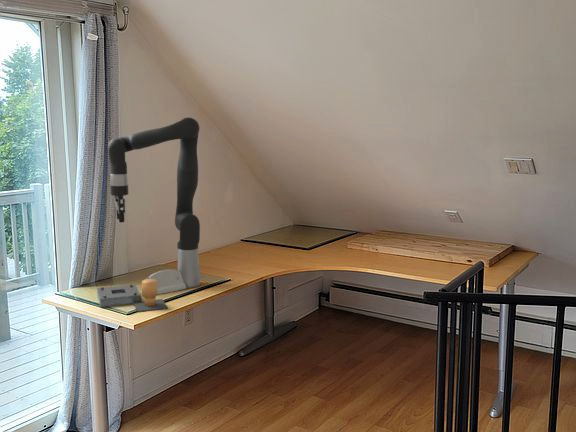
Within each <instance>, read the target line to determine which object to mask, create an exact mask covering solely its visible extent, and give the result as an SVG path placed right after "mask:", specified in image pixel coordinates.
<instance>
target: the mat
mask: <svg viewBox="0 0 576 432" xmlns="http://www.w3.org/2000/svg"><path fill="white" fill-rule="evenodd" d="M134 305H135V306H134ZM133 306H134V308H135V307H136V308H135V311H136V312H137V313H141V312H143V313H144V312H150V311H162V310H168V309H169V307H168V305H167V304H166V302H165V300H164V299H163V298H159V299H158V298H157V299H156V305H155V306H145V300H141V302H136V303H134V304H133Z"/></svg>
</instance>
